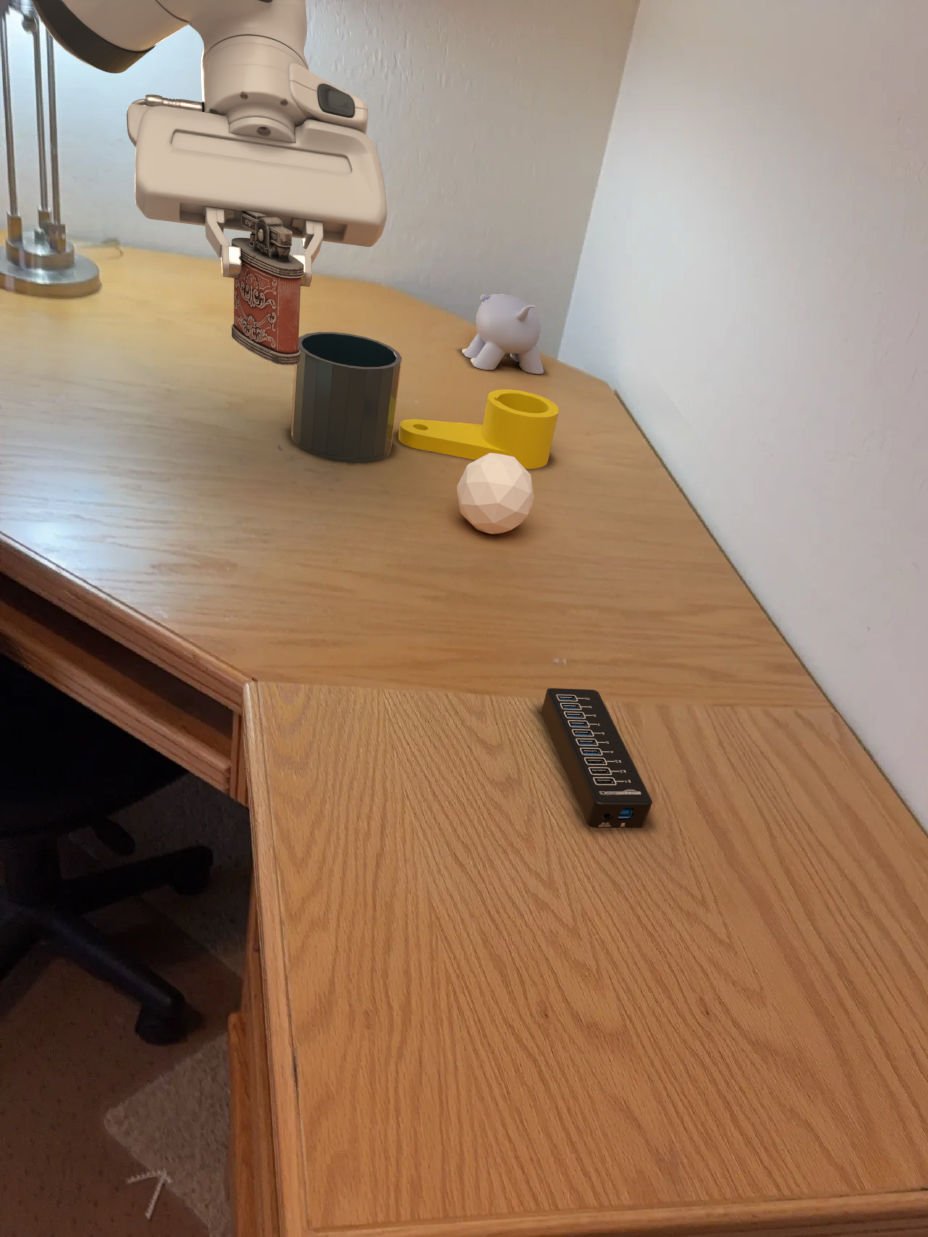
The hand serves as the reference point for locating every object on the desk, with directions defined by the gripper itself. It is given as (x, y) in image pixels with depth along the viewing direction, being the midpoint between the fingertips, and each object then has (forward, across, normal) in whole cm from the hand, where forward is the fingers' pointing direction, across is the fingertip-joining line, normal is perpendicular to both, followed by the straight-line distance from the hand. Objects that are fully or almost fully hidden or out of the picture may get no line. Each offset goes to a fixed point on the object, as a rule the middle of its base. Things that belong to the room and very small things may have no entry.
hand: (267, 278), depth 87 cm
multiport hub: (+42, +21, -12) cm, 49 cm away
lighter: (+4, 0, +5) cm, 6 cm away
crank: (-1, +28, +32) cm, 42 cm away
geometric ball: (+14, +24, +17) cm, 32 cm away
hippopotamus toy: (-25, +40, +56) cm, 73 cm away
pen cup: (0, +12, +31) cm, 33 cm away
